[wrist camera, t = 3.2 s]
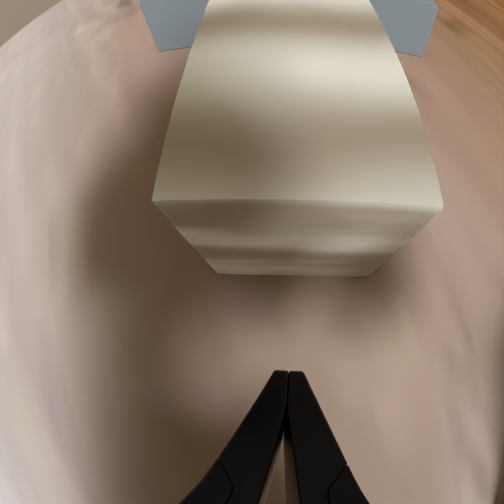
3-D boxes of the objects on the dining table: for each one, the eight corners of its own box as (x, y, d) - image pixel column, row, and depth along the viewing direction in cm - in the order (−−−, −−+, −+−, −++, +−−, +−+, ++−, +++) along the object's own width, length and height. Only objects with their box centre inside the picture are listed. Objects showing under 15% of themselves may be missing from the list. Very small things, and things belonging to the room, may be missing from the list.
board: (422, 56, 20) (439, 7, 15) (159, 51, 23) (138, 2, 17) (415, 42, 21) (428, -6, 15) (165, 37, 24) (148, -9, 18)
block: (367, 277, 16) (443, 206, 7) (218, 274, 17) (151, 201, 8) (341, 71, 20) (353, -26, 12) (239, 70, 21) (220, -27, 13)
